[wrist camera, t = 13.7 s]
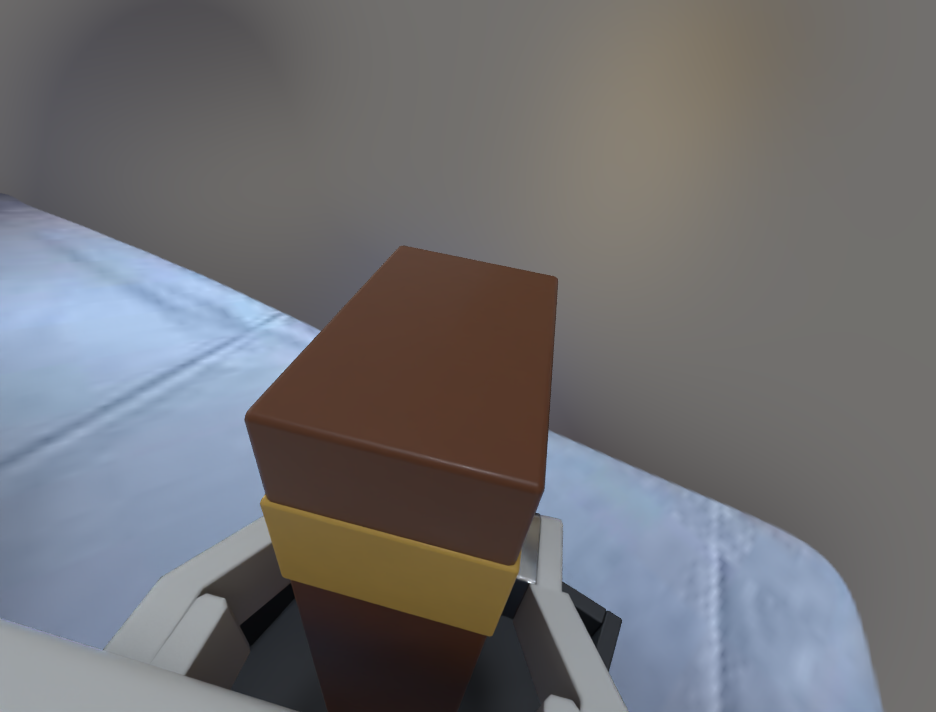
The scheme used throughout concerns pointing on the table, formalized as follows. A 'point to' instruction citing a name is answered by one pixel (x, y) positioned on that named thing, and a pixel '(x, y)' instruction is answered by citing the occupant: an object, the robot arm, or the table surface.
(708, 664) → the table surface
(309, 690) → the tray
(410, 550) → the chocolate box
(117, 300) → the table surface
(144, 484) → the table surface
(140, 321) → the table surface
